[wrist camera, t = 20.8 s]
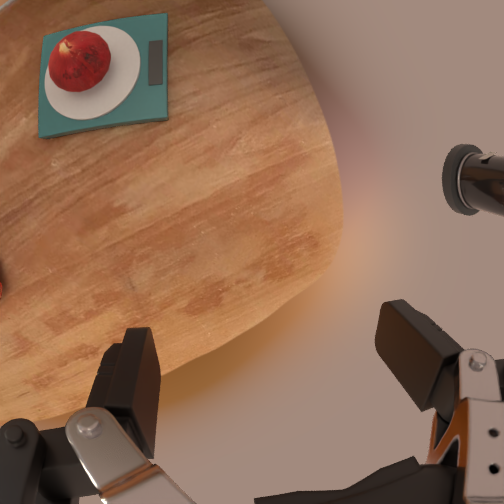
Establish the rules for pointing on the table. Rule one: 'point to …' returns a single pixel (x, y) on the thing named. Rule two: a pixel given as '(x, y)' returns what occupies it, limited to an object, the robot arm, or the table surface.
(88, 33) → the onion
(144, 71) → the scale
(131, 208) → the table surface
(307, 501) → the robot arm
